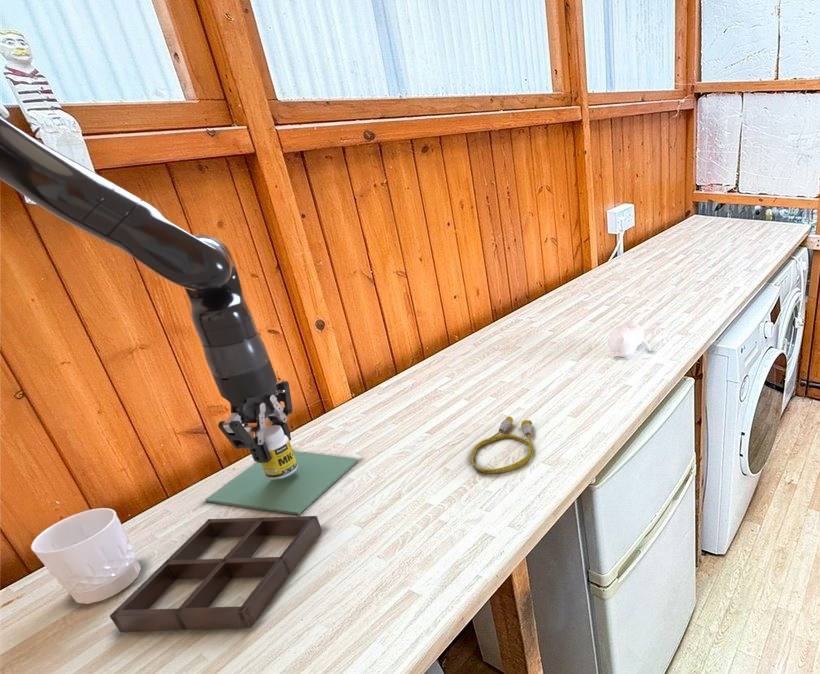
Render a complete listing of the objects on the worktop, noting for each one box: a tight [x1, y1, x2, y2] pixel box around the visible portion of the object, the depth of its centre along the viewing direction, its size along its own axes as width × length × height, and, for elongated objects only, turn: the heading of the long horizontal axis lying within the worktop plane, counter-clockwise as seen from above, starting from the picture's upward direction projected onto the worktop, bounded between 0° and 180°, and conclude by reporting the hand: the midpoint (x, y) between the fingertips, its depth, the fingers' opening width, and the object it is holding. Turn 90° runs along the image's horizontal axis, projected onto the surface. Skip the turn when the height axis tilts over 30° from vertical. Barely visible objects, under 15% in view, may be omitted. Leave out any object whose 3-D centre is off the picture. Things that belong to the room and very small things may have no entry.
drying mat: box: [205, 450, 359, 516], centre depth 91 cm, size 18×14×1 cm
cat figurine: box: [607, 320, 652, 358], centre depth 134 cm, size 9×11×12 cm
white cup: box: [30, 507, 142, 605], centre depth 70 cm, size 8×8×10 cm
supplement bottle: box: [253, 424, 298, 480], centre depth 89 cm, size 5×5×8 cm
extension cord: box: [470, 415, 534, 474], centre depth 98 cm, size 12×16×2 cm
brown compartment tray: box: [109, 515, 323, 633], centre depth 72 cm, size 16×16×3 cm
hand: (274, 451), depth 89 cm, fingers closed on supplement bottle, 4 cm apart
